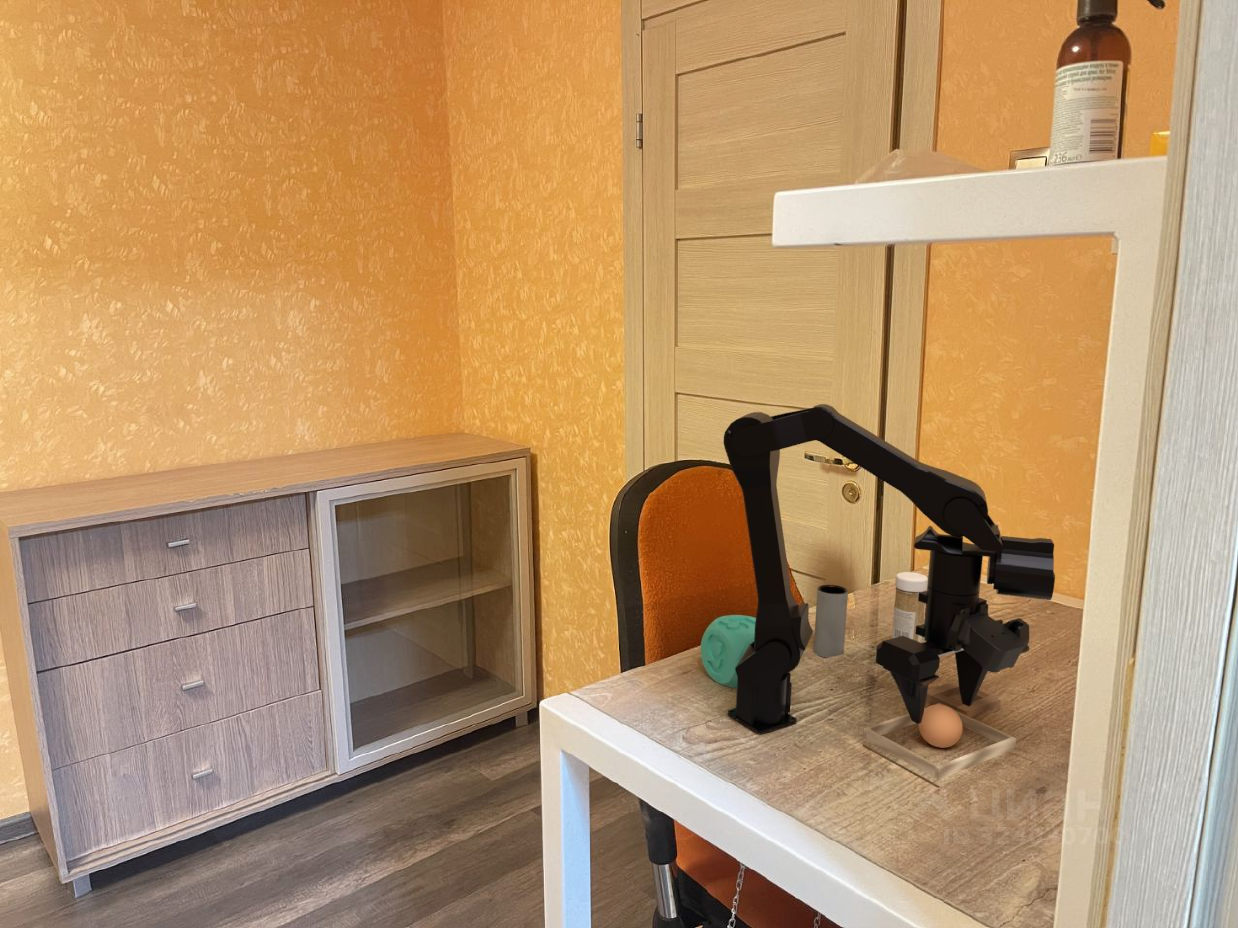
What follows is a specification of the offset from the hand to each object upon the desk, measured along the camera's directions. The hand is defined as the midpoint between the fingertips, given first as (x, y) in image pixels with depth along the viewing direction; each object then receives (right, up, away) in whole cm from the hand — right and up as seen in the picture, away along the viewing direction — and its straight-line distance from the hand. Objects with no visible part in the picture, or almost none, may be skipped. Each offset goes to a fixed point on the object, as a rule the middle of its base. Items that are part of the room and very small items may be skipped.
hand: (942, 713), depth 106 cm
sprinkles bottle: (+5, 0, +28) cm, 29 cm away
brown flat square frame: (+7, -3, +12) cm, 14 cm away
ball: (0, -4, +1) cm, 4 cm away
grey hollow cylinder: (-6, 0, +31) cm, 31 cm away
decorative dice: (-22, -1, +21) cm, 30 cm away
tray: (0, -5, +1) cm, 5 cm away
